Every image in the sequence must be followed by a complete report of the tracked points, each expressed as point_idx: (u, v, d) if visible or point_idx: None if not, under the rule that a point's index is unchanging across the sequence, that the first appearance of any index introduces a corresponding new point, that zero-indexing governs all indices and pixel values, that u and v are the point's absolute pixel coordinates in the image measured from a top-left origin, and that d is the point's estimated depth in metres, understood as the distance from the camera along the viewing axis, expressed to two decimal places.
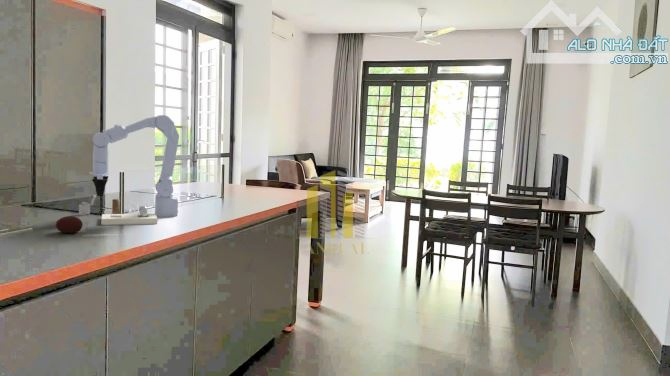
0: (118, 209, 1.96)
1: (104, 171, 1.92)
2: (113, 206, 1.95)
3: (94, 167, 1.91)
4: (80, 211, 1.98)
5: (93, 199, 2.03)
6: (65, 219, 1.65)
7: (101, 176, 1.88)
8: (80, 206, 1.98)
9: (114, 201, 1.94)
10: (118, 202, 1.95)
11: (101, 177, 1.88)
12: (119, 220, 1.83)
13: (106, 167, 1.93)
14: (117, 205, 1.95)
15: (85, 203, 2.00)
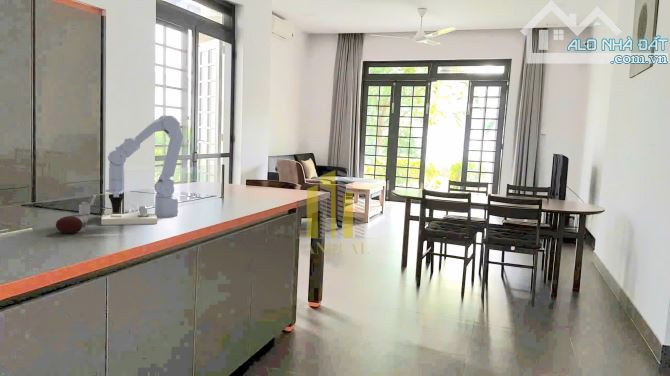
0: None
1: (120, 189, 1.94)
2: None
3: (110, 185, 1.93)
4: (80, 211, 1.98)
5: (93, 199, 2.03)
6: (65, 219, 1.65)
7: (117, 194, 1.89)
8: (80, 206, 1.98)
9: None
10: None
11: (117, 195, 1.89)
12: (119, 220, 1.83)
13: (122, 185, 1.94)
14: None
15: (85, 203, 2.00)
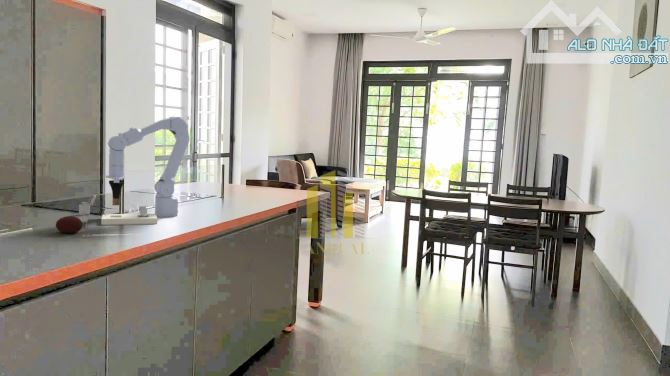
0: None
1: (121, 174, 1.93)
2: None
3: (110, 170, 1.92)
4: (80, 211, 1.98)
5: (93, 199, 2.03)
6: (65, 219, 1.65)
7: (118, 179, 1.88)
8: (80, 206, 1.98)
9: None
10: None
11: (118, 180, 1.89)
12: (119, 220, 1.83)
13: (122, 170, 1.94)
14: None
15: (85, 203, 2.00)
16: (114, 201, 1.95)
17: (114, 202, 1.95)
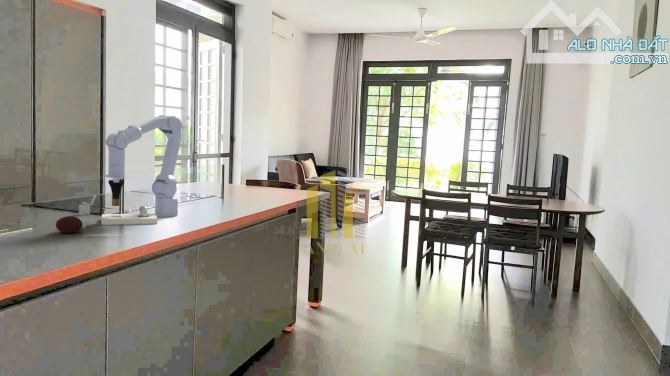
0: None
1: (121, 174, 1.85)
2: None
3: (110, 169, 1.83)
4: (80, 211, 1.98)
5: (93, 199, 2.03)
6: (65, 219, 1.65)
7: (117, 179, 1.80)
8: (80, 206, 1.98)
9: None
10: None
11: (117, 180, 1.80)
12: (119, 220, 1.83)
13: (122, 170, 1.85)
14: None
15: (85, 203, 2.00)
16: (113, 201, 1.86)
17: (113, 202, 1.86)
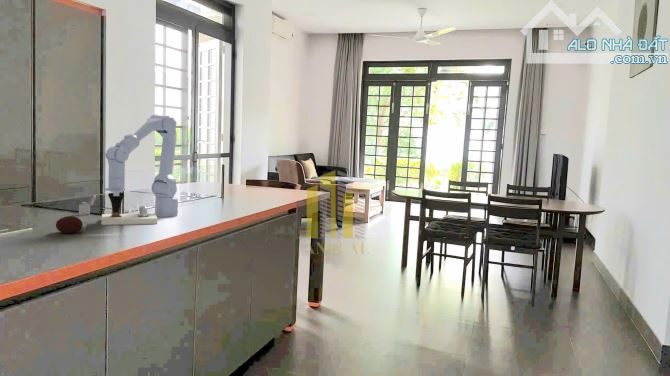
0: None
1: (121, 187, 1.84)
2: None
3: (110, 183, 1.82)
4: (80, 211, 1.98)
5: (93, 199, 2.03)
6: (65, 219, 1.65)
7: (117, 193, 1.79)
8: (80, 206, 1.98)
9: None
10: None
11: (117, 194, 1.79)
12: (119, 220, 1.83)
13: (122, 183, 1.84)
14: None
15: (85, 203, 2.00)
16: (113, 215, 1.85)
17: (113, 216, 1.85)
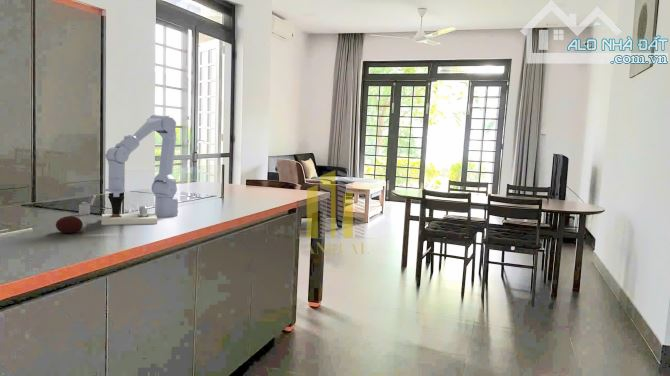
0: None
1: (121, 188, 1.84)
2: None
3: (110, 184, 1.82)
4: (80, 211, 1.98)
5: (93, 199, 2.03)
6: (65, 219, 1.65)
7: (117, 194, 1.79)
8: (80, 206, 1.98)
9: None
10: None
11: (117, 195, 1.79)
12: (119, 220, 1.83)
13: (122, 184, 1.84)
14: None
15: (85, 203, 2.00)
16: None
17: None
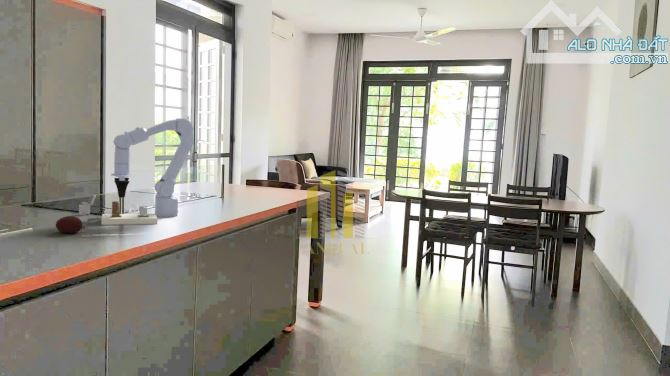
0: (118, 212, 1.86)
1: (126, 173, 1.95)
2: (113, 209, 1.85)
3: (116, 169, 1.93)
4: (80, 211, 1.98)
5: (93, 199, 2.03)
6: (65, 219, 1.65)
7: (123, 178, 1.90)
8: (80, 206, 1.98)
9: (114, 203, 1.84)
10: (118, 204, 1.85)
11: (123, 178, 1.90)
12: (119, 220, 1.83)
13: (127, 169, 1.95)
14: (117, 208, 1.85)
15: (85, 203, 2.00)
16: None
17: None
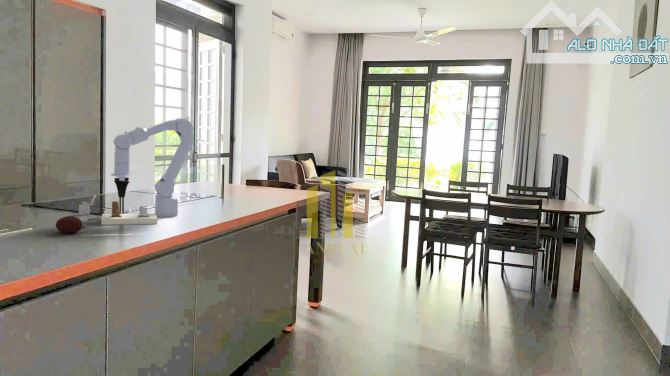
0: (118, 212, 1.86)
1: (126, 173, 1.95)
2: (113, 209, 1.85)
3: (116, 168, 1.93)
4: (80, 211, 1.98)
5: (93, 199, 2.03)
6: (65, 219, 1.65)
7: (123, 177, 1.90)
8: (80, 206, 1.98)
9: (114, 203, 1.84)
10: (118, 204, 1.85)
11: (123, 178, 1.90)
12: (119, 220, 1.83)
13: (127, 169, 1.95)
14: (117, 208, 1.85)
15: (85, 203, 2.00)
16: None
17: None
